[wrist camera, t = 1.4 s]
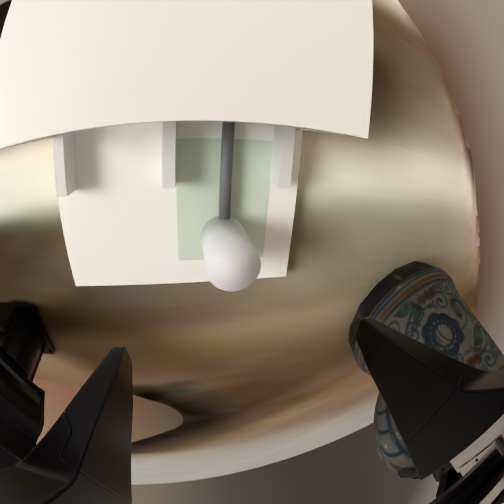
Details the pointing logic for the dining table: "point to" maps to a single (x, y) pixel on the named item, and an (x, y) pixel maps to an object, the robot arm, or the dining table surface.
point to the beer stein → (422, 340)
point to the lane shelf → (179, 119)
